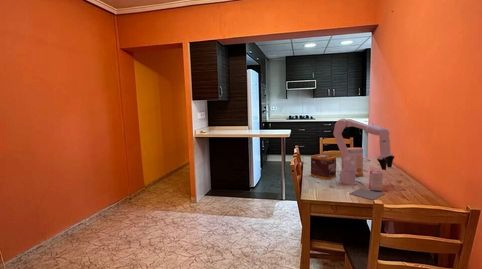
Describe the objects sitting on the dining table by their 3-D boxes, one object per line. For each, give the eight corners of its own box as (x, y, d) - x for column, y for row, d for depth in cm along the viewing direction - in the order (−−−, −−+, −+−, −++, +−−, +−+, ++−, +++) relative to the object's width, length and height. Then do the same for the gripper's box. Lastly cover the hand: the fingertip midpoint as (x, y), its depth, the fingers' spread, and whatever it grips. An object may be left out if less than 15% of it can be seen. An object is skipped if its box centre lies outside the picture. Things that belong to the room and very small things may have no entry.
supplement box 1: (328, 180, 181) (328, 158, 179) (310, 175, 193) (310, 155, 192) (336, 177, 187) (336, 156, 185) (319, 173, 199) (319, 153, 198)
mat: (349, 194, 151) (349, 193, 151) (361, 188, 159) (361, 188, 159) (372, 200, 140) (372, 199, 140) (384, 194, 148) (384, 193, 148)
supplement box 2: (382, 191, 152) (383, 172, 151) (371, 191, 153) (372, 172, 153) (378, 188, 158) (379, 170, 157) (368, 188, 159) (369, 170, 158)
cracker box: (360, 174, 192) (360, 147, 190) (363, 176, 186) (363, 148, 184) (341, 174, 193) (341, 147, 191) (343, 176, 187) (343, 148, 185)
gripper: (386, 149, 151) (388, 171, 152) (397, 145, 159) (398, 166, 160) (374, 149, 157) (376, 170, 157) (385, 145, 165) (386, 165, 166)
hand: (386, 168), depth 159 cm, fingers open, 7 cm apart
